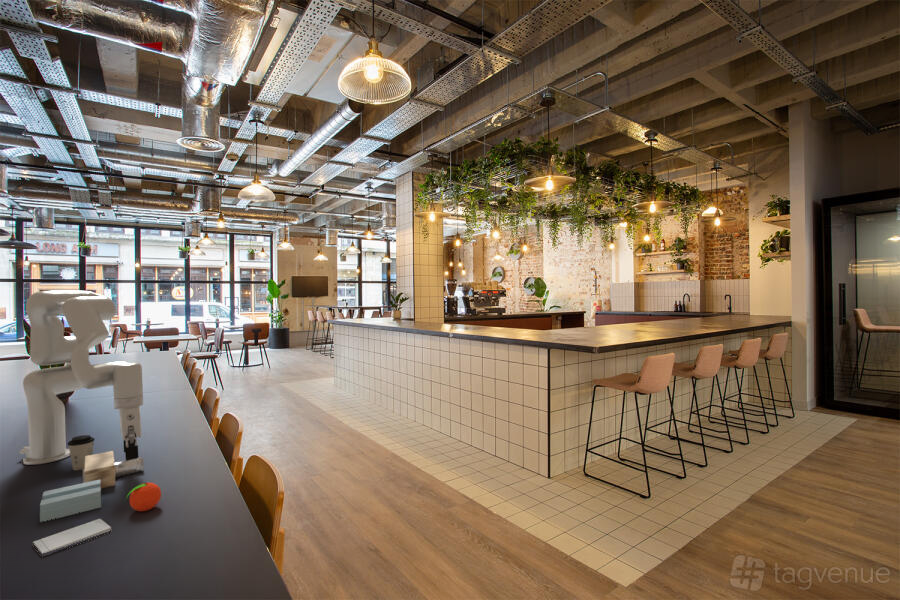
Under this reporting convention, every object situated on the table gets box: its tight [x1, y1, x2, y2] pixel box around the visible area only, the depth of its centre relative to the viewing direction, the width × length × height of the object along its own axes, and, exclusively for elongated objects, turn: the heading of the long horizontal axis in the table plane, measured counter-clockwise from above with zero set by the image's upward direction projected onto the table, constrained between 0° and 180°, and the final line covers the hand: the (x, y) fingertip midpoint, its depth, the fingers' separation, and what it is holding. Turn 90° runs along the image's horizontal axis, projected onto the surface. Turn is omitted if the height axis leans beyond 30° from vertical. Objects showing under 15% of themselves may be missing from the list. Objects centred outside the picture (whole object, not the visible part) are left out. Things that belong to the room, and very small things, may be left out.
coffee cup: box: [67, 434, 95, 471], centre depth 145 cm, size 7×7×10 cm
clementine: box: [125, 482, 162, 512], centre depth 115 cm, size 8×7×7 cm
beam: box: [85, 450, 116, 489], centre depth 135 cm, size 7×16×6 cm, turn 39°
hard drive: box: [32, 518, 112, 554], centre depth 102 cm, size 2×8×12 cm
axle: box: [82, 456, 145, 483], centre depth 137 cm, size 15×4×4 cm, turn 129°
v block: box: [39, 480, 102, 523], centre depth 118 cm, size 12×12×4 cm
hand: (131, 455), depth 139 cm, fingers open, 9 cm apart
